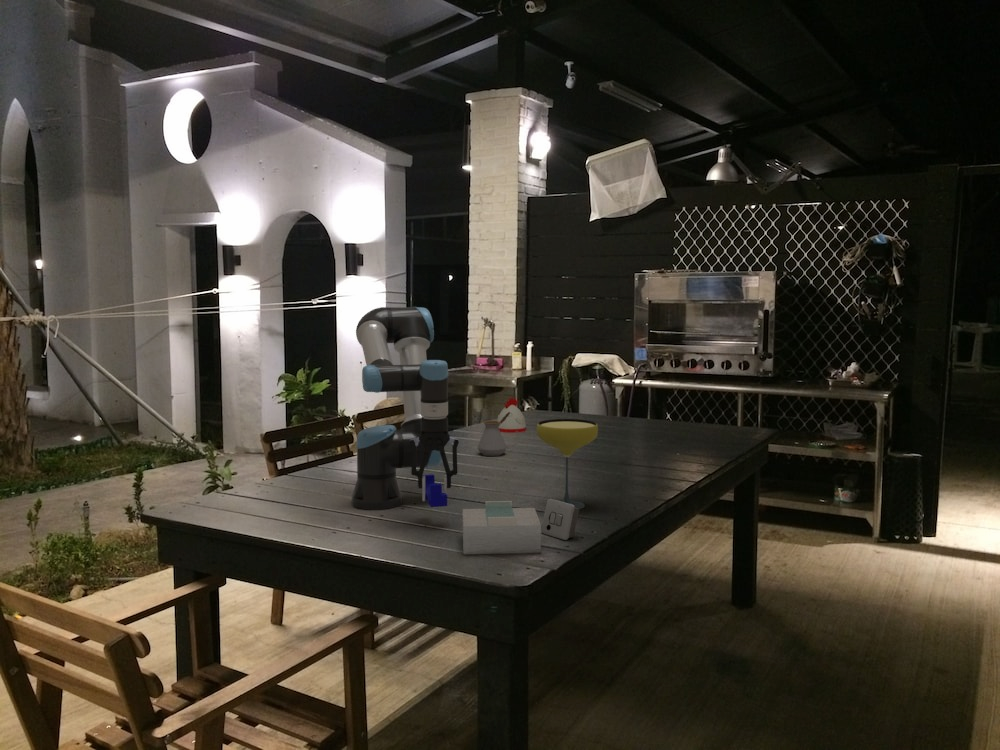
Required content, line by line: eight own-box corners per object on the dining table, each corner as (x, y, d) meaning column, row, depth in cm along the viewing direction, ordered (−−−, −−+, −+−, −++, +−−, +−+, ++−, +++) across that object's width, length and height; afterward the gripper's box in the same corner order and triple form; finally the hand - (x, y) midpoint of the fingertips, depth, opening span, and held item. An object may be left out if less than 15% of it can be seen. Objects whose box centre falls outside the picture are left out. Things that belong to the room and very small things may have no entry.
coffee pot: (497, 458, 313) (497, 419, 311) (472, 455, 318) (472, 417, 317) (522, 449, 332) (522, 412, 330) (498, 446, 337) (497, 410, 335)
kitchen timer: (532, 430, 377) (532, 398, 376) (512, 433, 367) (512, 401, 366) (510, 426, 387) (510, 395, 385) (489, 430, 377) (489, 398, 375)
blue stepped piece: (447, 506, 220) (447, 484, 219) (430, 507, 218) (430, 485, 218) (438, 494, 231) (438, 474, 230) (423, 495, 230) (422, 474, 229)
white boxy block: (463, 554, 198) (463, 518, 197) (462, 534, 214) (462, 501, 213) (540, 552, 199) (541, 517, 199) (534, 533, 215) (534, 500, 214)
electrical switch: (540, 533, 216) (542, 499, 215) (553, 531, 219) (556, 497, 219) (565, 541, 209) (568, 506, 208) (579, 539, 212) (582, 504, 212)
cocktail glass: (524, 506, 242) (524, 424, 240) (559, 495, 256) (560, 416, 254) (574, 517, 231) (575, 430, 228) (608, 504, 244) (609, 422, 242)
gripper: (399, 419, 218) (400, 503, 221) (467, 419, 219) (467, 502, 222) (401, 414, 225) (402, 496, 228) (467, 414, 226) (467, 495, 229)
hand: (434, 499), depth 225 cm, fingers closed on blue stepped piece, 5 cm apart
